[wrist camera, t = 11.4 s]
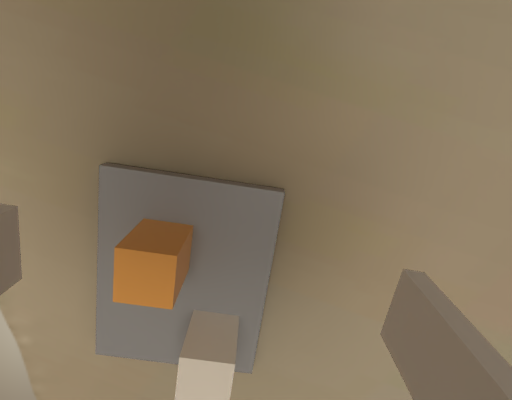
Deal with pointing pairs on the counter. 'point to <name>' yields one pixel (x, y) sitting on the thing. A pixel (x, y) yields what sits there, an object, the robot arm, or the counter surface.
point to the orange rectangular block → (152, 264)
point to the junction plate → (190, 274)
